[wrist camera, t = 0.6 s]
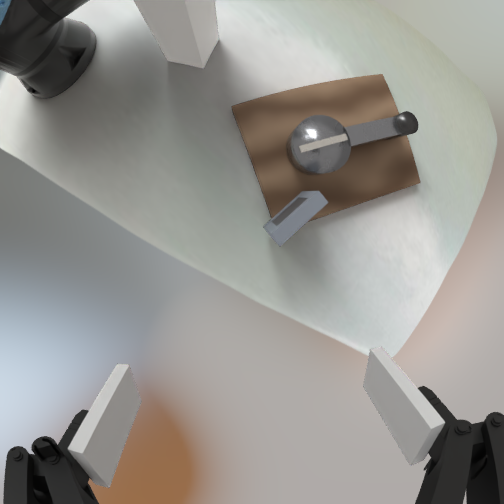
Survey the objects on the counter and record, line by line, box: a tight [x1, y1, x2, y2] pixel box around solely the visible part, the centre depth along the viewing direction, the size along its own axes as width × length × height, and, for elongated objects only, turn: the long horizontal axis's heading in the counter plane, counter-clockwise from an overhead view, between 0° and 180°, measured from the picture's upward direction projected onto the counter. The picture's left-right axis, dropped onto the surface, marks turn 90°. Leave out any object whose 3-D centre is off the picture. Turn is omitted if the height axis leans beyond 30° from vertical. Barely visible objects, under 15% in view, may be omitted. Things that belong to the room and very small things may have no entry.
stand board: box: [232, 74, 420, 221], centre depth 35 cm, size 18×24×2 cm
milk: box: [134, 0, 219, 68], centre depth 21 cm, size 6×6×22 cm
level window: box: [263, 191, 328, 246], centre depth 33 cm, size 3×7×8 cm, turn 132°
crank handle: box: [286, 111, 418, 175], centre depth 31 cm, size 18×7×6 cm, turn 110°
